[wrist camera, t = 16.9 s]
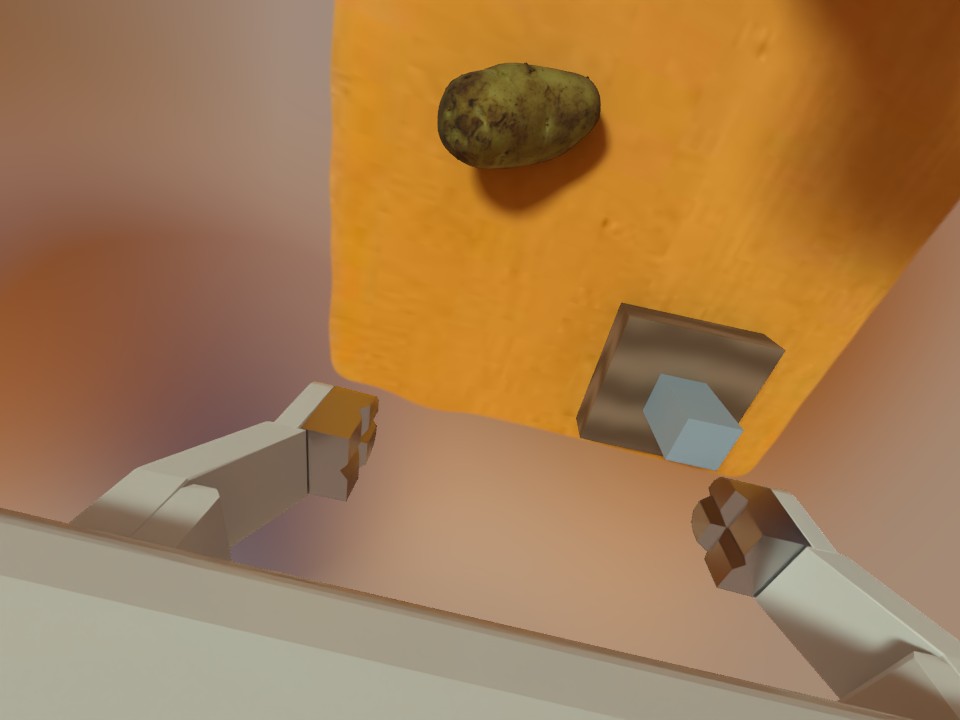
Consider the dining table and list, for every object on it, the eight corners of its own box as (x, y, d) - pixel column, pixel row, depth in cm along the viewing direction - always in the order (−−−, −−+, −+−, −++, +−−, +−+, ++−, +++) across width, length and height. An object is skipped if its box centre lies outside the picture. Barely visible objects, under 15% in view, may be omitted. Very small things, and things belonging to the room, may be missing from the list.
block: (660, 373, 42) (688, 418, 35) (706, 383, 42) (743, 430, 35) (642, 410, 44) (665, 459, 37) (685, 420, 44) (716, 470, 37)
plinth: (621, 302, 42) (630, 316, 39) (763, 334, 43) (785, 350, 39) (576, 417, 50) (580, 437, 47) (697, 444, 50) (710, 466, 47)
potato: (572, 189, 38) (583, 197, 31) (443, 156, 38) (425, 157, 31) (604, 87, 34) (625, 70, 27) (460, 50, 34) (443, 23, 27)
